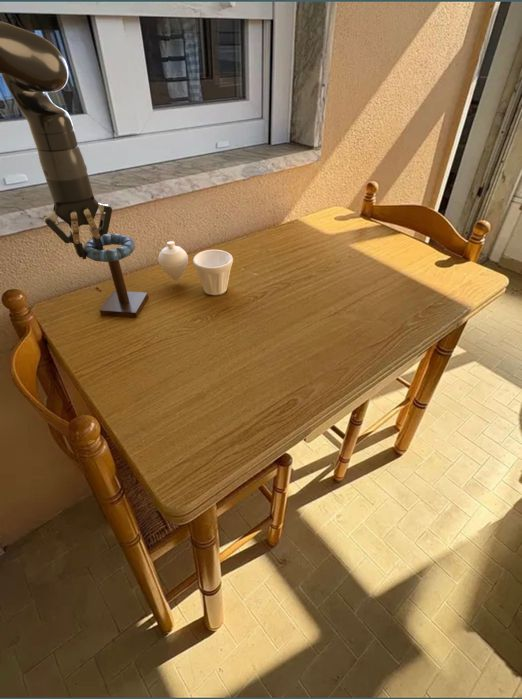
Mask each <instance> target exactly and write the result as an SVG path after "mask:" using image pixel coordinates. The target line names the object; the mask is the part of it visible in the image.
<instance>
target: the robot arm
mask: <svg viewBox="0 0 522 699" xmlns="http://www.w3.org/2000/svg"><path fill="white" fill-rule="evenodd" d="M0 75H1V78H2V80H3V81H4V84H5V85H6V87H7V89H8V91H9V92H10V94H11V95H12V98H13V99H14V101H15V103H16V105H17V107H18V108H19V111H20V112H21V113H22V115H23V116H24V118H25V119H26V121H27V123H28V127H29V129H30V132H31V133H30V134H31V135H32V139H33V142H34V145H35V148H36V150H37V154H38V160H39V163H40V167H41V169H42V172H43V175H44V178H45V181H46V184H47V187H48V189H49V190H48V191H49V193H50V196H51V198H52V201H53V211H52V212H51V213H49V214H48V215H46V214H45V215H43V217H42V220H43V221H44V223H45V224H46V225H47V226H48V227H49V228H50V229H51V230H52V231H53V233H55V235H57V237H59V239H60V240H61V241H62V242H64V244H73V247H74V250H75V253H76V255H77V256H78V257H79V258H81V259H82V260H86V259H88V257H86V255H85V252H84V249H83V246H84V244H83V242H81V239H80V227H81V226H87V228H88V230H89V232H90V234H91V239H92V240H93V244H94V247H95V249H97V250H105V249H104V246H103V245H102V242H101V236H102V235H105V234H109V228H110V223H111V218H112V214H113V208H112V207H111V206H110V205H109V204H108V203H107V202H104V203H100V202H98V200H96V198H95V196H94V192H93V188H92V185H91V182H90V178H89V174H88V167H87V165H86V163H85V159H84V156H83V154H82V151H81V149H80V146H79V143H78V140H77V136H76V132H75V129H74V125H73V121H72V119H71V116H70V114H69V112H67V110H65V109H63V108H62V107H59V106H57V105H56V104H55V103H53V101H52V99H51V98H50V96H49V94H48V93H56V92H58V91H59V92H60V91H61V90H62V89H64V87H65V86H66V85H67V83H68V80H69V67H68V64H67V62H66V59H65V57H64V56H63V54H62V52H61V51H60V50H59V49H58V48H57V47H56V46H55V45H54V44H53V43H52V42H51V41H50V40H48V39H47V38H45V37H43V36H41V35H39V34H37V33H34V32H32V31H30V30H27V29H24V28H21V27H19V26H17V25H13V24H11V23H9V22H8V23H7V22H4V21H1V20H0ZM98 212H99V214H100V217H99V222H98V227H97V225H96V223H95V220H94V219H95V217H96V214H97V213H98ZM58 218H60V219H61V220H62V221H63V222H65V223H66V224H67V227H68V230H69V234H66V232H64V231H63V230H62V229H61V228H60V226H58V225H59V223H60V222H59V221H58Z"/></svg>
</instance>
